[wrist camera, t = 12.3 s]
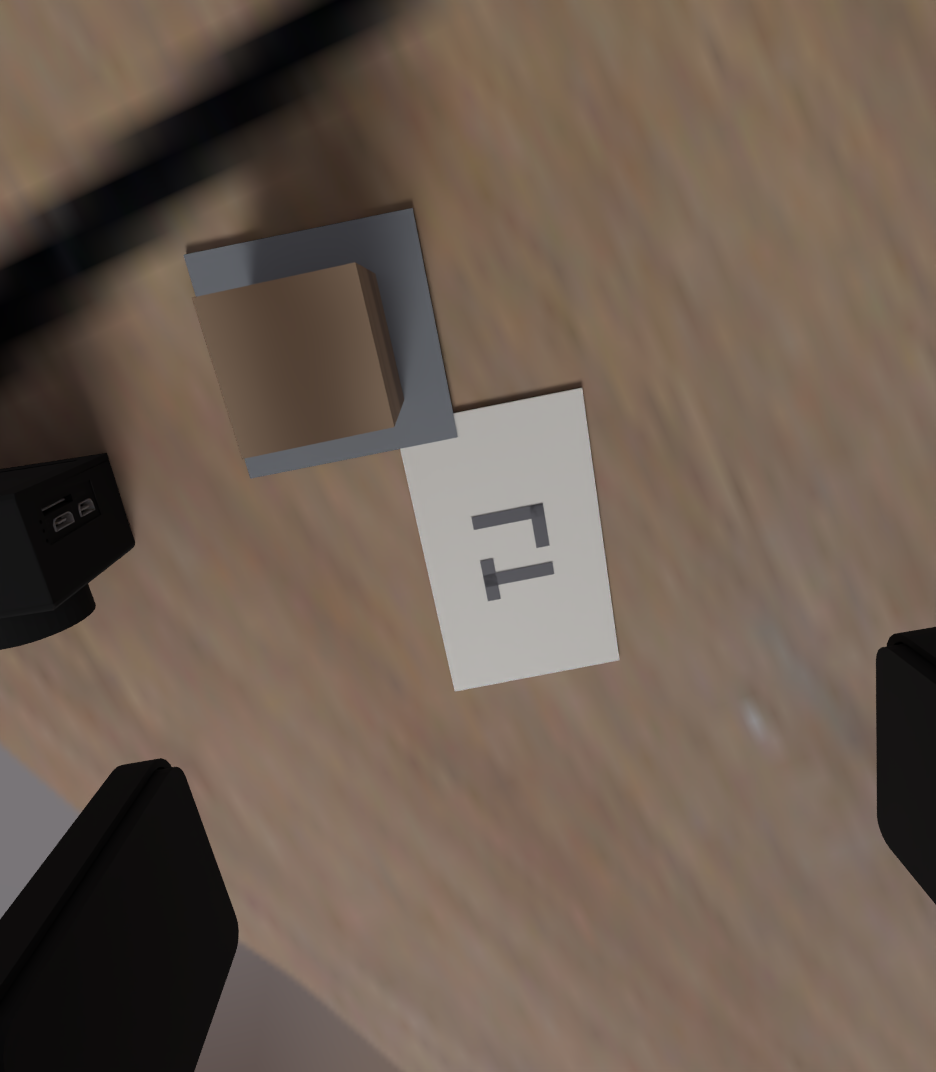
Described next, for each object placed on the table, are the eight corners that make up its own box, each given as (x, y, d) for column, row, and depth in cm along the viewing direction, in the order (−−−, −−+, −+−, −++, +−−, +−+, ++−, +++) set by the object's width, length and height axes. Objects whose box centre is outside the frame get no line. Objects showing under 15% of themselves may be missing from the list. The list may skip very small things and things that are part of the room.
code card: (581, 387, 29) (582, 388, 29) (618, 657, 33) (619, 660, 33) (395, 424, 29) (394, 425, 29) (454, 689, 34) (454, 691, 33)
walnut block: (375, 273, 27) (355, 262, 21) (404, 399, 29) (394, 426, 22) (251, 300, 27) (191, 297, 21) (287, 424, 29) (241, 459, 22)
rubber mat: (412, 209, 27) (412, 208, 27) (457, 436, 30) (457, 437, 29) (186, 255, 27) (183, 255, 27) (252, 476, 30) (250, 478, 30)
